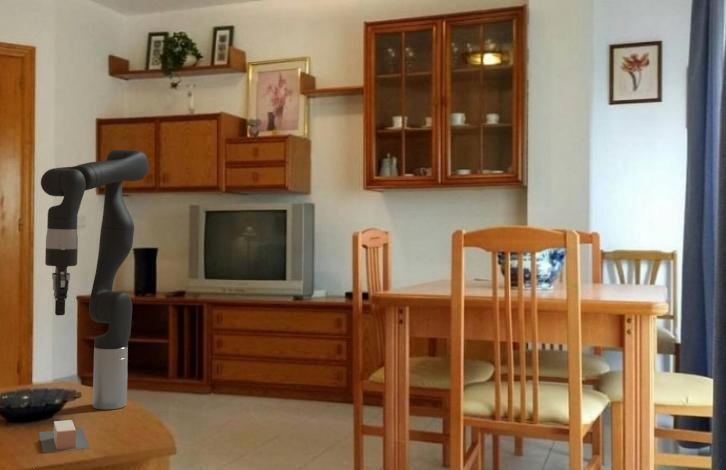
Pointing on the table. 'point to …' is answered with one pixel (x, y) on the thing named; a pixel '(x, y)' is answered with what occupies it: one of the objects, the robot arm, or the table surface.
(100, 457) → the table surface
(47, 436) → the slate mat
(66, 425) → the cream block
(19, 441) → the table surface
